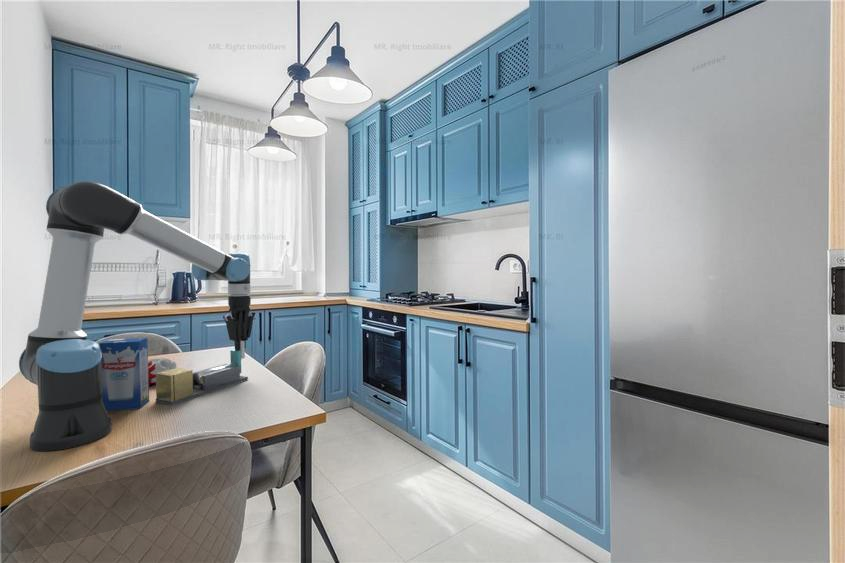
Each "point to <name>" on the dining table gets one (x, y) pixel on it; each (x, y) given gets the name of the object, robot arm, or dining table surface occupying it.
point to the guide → (191, 381)
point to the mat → (200, 392)
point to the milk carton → (124, 373)
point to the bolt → (234, 362)
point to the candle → (158, 367)
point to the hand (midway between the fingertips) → (240, 358)
